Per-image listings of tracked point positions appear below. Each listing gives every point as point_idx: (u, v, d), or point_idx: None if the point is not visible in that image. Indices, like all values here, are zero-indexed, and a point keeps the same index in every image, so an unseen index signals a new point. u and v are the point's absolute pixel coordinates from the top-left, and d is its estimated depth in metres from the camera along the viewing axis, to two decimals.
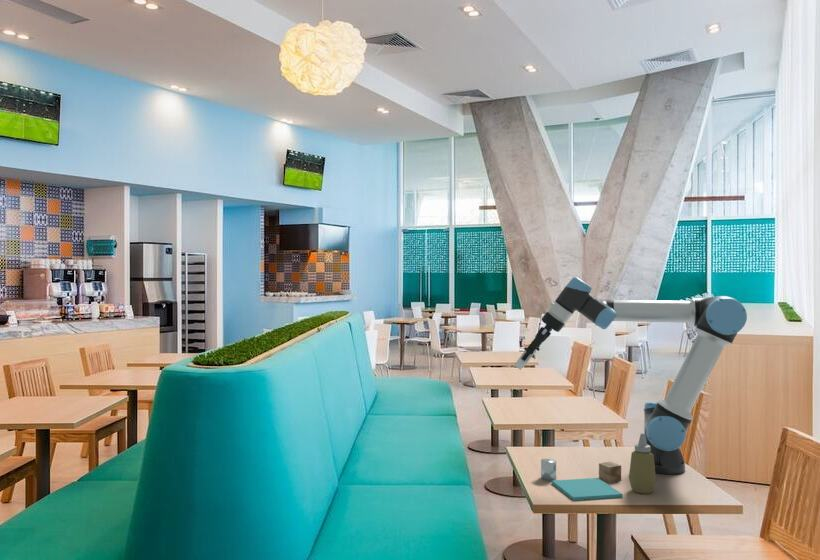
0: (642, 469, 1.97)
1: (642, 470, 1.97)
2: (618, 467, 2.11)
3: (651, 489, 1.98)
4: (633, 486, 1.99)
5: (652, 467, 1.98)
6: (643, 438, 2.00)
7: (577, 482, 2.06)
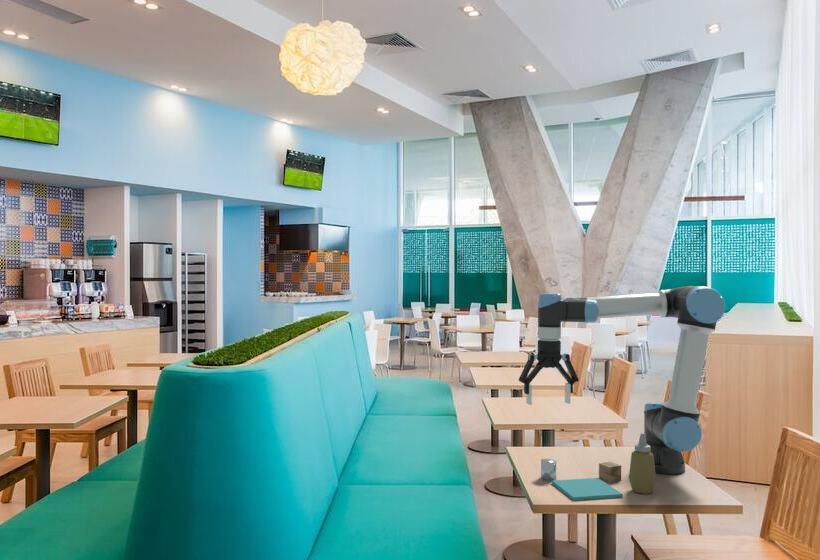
0: (642, 469, 1.97)
1: (642, 470, 1.97)
2: (618, 467, 2.11)
3: (651, 489, 1.98)
4: (633, 486, 1.99)
5: (652, 467, 1.98)
6: (643, 438, 2.00)
7: (577, 482, 2.06)
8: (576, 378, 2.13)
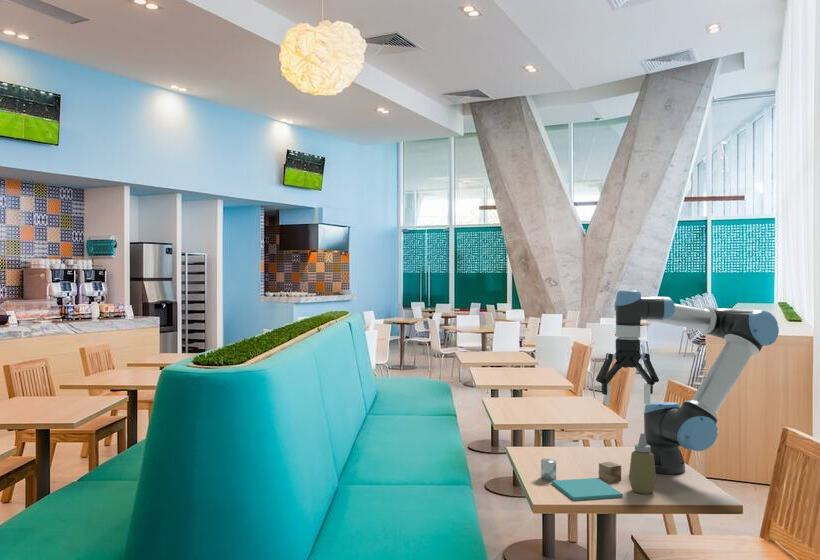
0: (642, 469, 1.97)
1: (642, 470, 1.97)
2: (618, 467, 2.11)
3: (651, 489, 1.98)
4: (633, 486, 1.99)
5: (652, 467, 1.98)
6: (643, 438, 2.00)
7: (577, 482, 2.06)
8: (656, 378, 2.06)
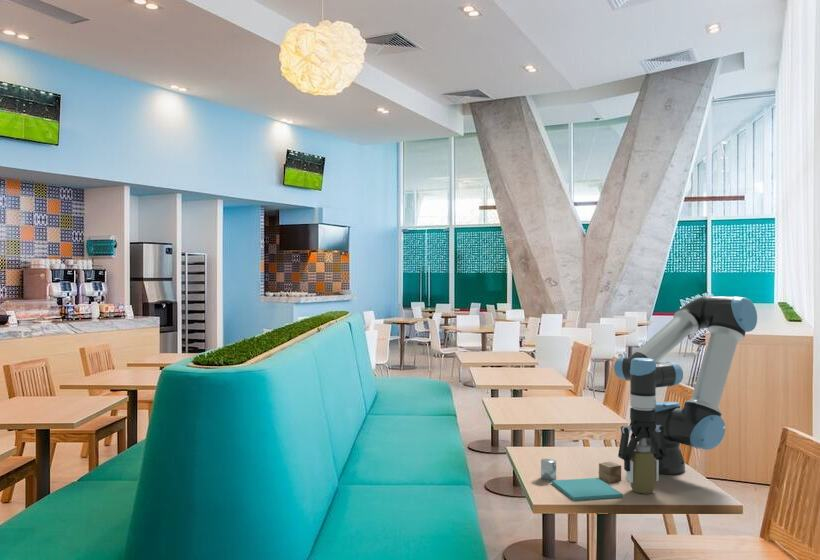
0: (642, 469, 1.97)
1: (642, 470, 1.97)
2: (618, 467, 2.11)
3: (651, 489, 1.98)
4: (633, 486, 1.99)
5: (652, 467, 1.98)
6: (643, 438, 2.00)
7: (577, 482, 2.06)
8: (665, 453, 2.01)
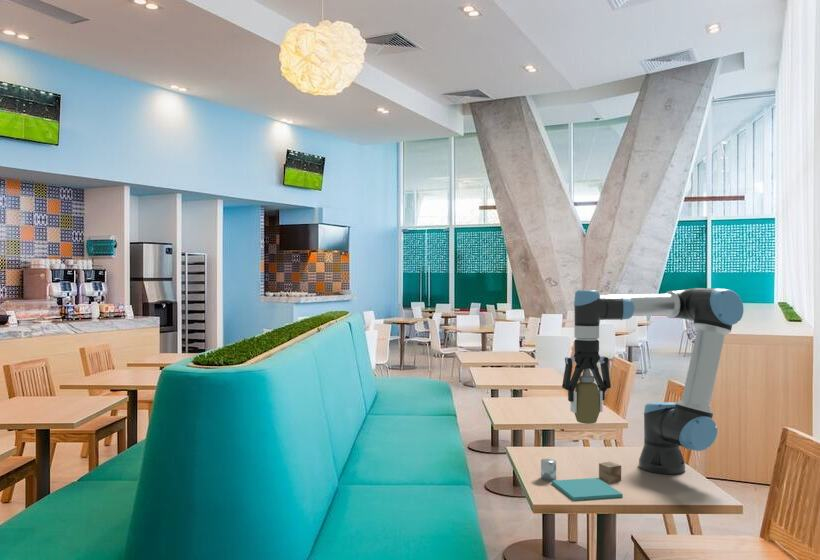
0: (585, 399, 1.98)
1: (585, 400, 1.98)
2: (618, 467, 2.11)
3: (594, 419, 1.98)
4: (577, 417, 2.00)
5: (595, 397, 1.98)
6: (587, 369, 2.00)
7: (577, 482, 2.06)
8: (609, 384, 2.01)
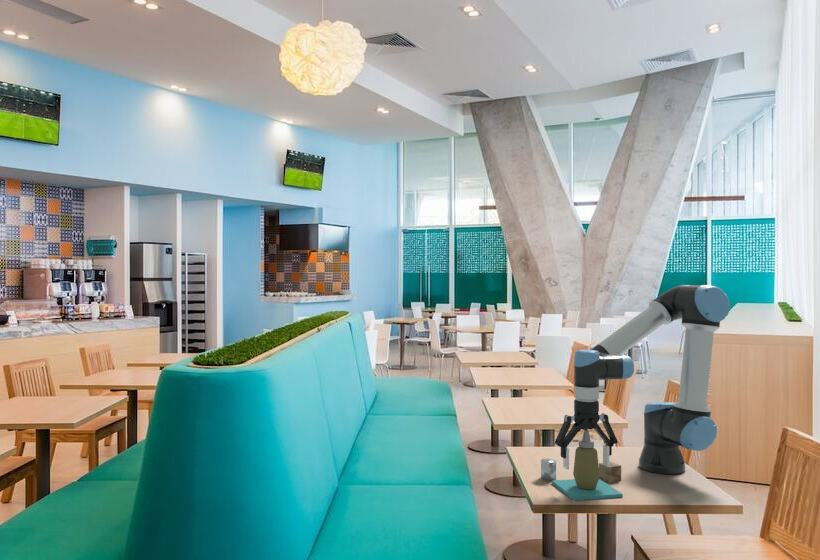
0: (585, 465, 1.98)
1: (585, 466, 1.98)
2: (618, 467, 2.11)
3: (594, 485, 1.98)
4: (577, 482, 2.00)
5: (595, 463, 1.98)
6: (586, 434, 2.00)
7: None
8: (615, 440, 2.02)
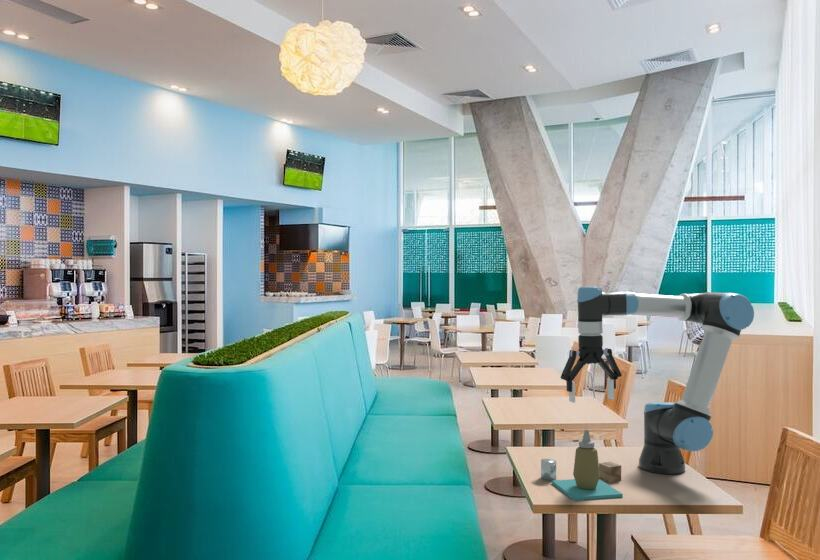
0: (585, 465, 1.98)
1: (585, 466, 1.98)
2: (618, 467, 2.11)
3: (594, 485, 1.98)
4: (577, 482, 2.00)
5: (595, 463, 1.98)
6: (587, 434, 2.00)
7: None
8: (619, 373, 2.07)
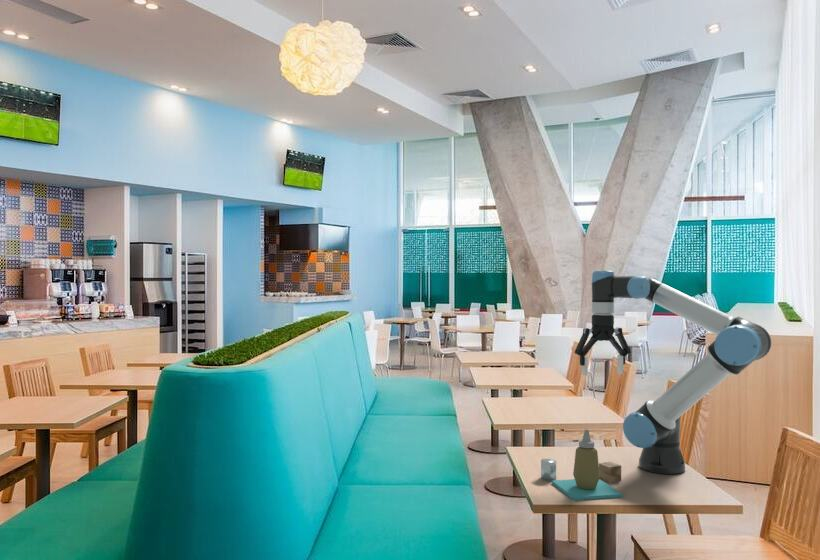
0: (585, 465, 1.98)
1: (585, 466, 1.98)
2: (618, 467, 2.11)
3: (594, 485, 1.98)
4: (577, 482, 2.00)
5: (595, 463, 1.98)
6: (587, 434, 2.00)
7: None
8: (628, 350, 2.26)
